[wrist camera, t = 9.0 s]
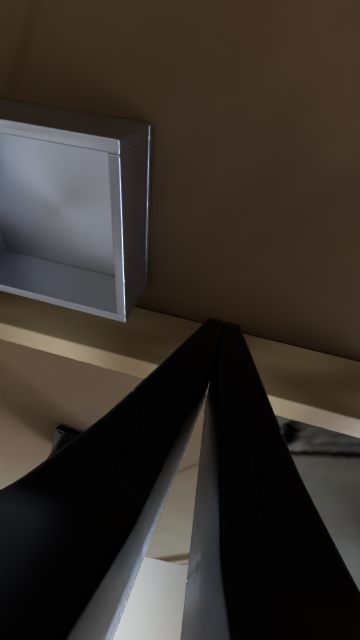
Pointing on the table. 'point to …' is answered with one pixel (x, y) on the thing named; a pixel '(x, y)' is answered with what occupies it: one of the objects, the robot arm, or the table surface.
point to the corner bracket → (167, 335)
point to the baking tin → (74, 208)
